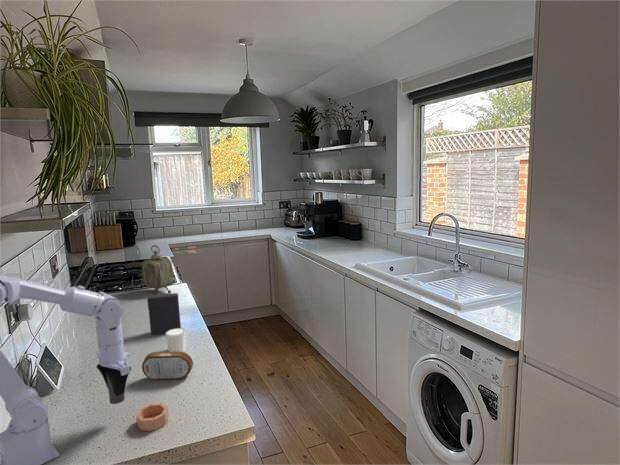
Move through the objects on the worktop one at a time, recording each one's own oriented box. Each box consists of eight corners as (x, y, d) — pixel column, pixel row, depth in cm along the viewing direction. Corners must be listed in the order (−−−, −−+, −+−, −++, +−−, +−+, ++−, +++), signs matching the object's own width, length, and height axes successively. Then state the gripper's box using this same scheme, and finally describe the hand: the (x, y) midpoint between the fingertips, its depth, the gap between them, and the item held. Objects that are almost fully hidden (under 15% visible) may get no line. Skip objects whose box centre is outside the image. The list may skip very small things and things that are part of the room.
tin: (194, 374, 128) (192, 349, 127) (191, 379, 125) (189, 354, 123) (145, 376, 128) (143, 351, 126) (142, 382, 125) (139, 356, 123)
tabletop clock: (174, 293, 209) (170, 245, 204) (159, 298, 202) (154, 248, 197) (158, 288, 217) (154, 242, 213) (142, 293, 210) (137, 245, 206)
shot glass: (187, 344, 149) (186, 326, 148) (186, 353, 142) (184, 334, 141) (168, 347, 148) (166, 328, 146) (165, 355, 141) (164, 336, 140)
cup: (146, 435, 100) (145, 424, 99) (133, 423, 105) (132, 412, 104) (173, 420, 105) (172, 410, 105) (159, 410, 110) (158, 400, 109)
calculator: (181, 327, 164) (178, 292, 162) (180, 332, 160) (177, 295, 158) (152, 331, 162) (148, 295, 159) (150, 335, 158) (147, 298, 155)
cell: (113, 405, 103) (110, 376, 102) (107, 400, 105) (104, 371, 104) (127, 399, 106) (124, 370, 104) (121, 394, 108) (117, 366, 106)
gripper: (139, 344, 101) (144, 394, 103) (114, 329, 110) (119, 375, 113) (110, 354, 96) (116, 407, 98) (86, 338, 105) (92, 386, 107)
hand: (116, 391), depth 105 cm, fingers closed on cell, 3 cm apart
